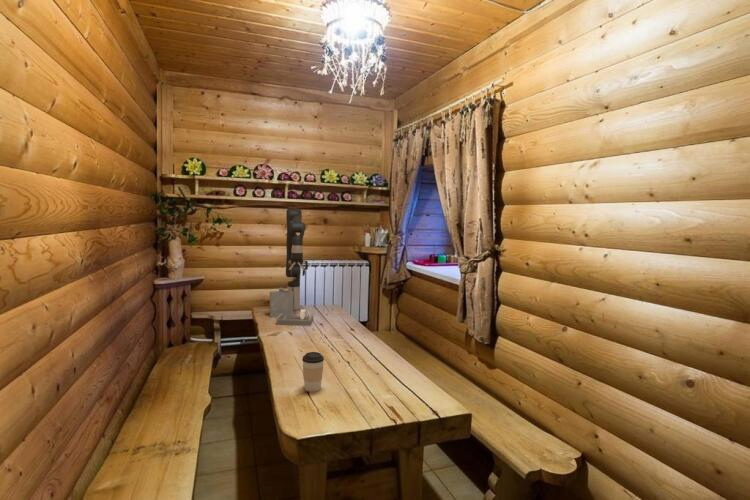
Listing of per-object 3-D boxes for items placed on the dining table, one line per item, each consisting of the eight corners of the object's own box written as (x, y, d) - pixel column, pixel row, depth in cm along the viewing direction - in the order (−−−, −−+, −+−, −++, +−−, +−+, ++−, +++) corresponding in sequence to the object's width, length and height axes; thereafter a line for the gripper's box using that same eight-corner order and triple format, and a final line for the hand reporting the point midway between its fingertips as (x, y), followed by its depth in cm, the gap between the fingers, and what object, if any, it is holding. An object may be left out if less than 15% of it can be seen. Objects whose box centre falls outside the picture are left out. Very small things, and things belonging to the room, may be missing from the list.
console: (280, 319, 281) (280, 313, 280) (313, 320, 281) (313, 314, 280) (276, 324, 269) (276, 317, 268) (310, 325, 269) (310, 319, 268)
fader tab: (301, 316, 277) (301, 309, 276) (305, 316, 277) (305, 309, 276) (300, 318, 272) (300, 311, 271) (304, 318, 272) (304, 311, 271)
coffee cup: (313, 381, 181) (314, 348, 180) (327, 387, 176) (328, 353, 174) (297, 388, 174) (297, 353, 173) (311, 394, 169) (312, 359, 167)
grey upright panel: (269, 317, 286) (270, 288, 284) (269, 316, 290) (269, 287, 288) (293, 316, 291) (293, 288, 290) (292, 314, 295) (292, 287, 293)
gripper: (308, 251, 283) (308, 275, 285) (287, 251, 283) (287, 274, 285) (306, 252, 276) (306, 276, 277) (285, 252, 276) (285, 276, 277)
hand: (296, 275), depth 281 cm, fingers open, 8 cm apart
